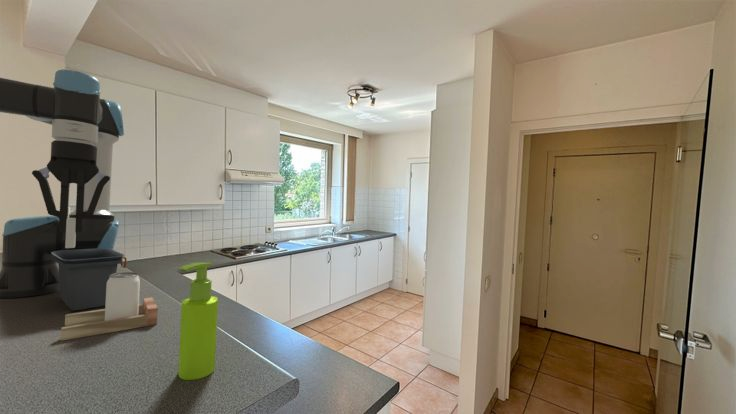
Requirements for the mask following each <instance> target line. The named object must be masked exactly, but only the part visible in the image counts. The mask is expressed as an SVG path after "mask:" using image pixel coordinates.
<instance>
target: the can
mask: <svg viewBox="0 0 736 414" xmlns="http://www.w3.org/2000/svg"><path fill="white" fill-rule="evenodd" d="M109 277H110V278H109V279H108V281H107V285H106V303H105V307H104V309H105V320H104V321H106V320H112V319H119V318H125V317H132V316H138V310H139V304H140V290H141V289H140V287H141V285H140V283H141V282H140V281H141V279H140V276H139V273H138V272H135V271H134V272H133V271H128V272H127V271H126V272H123V271H122V272H118V273H117V272H116V273H115V274H111V275H110V276H109Z"/></svg>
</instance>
